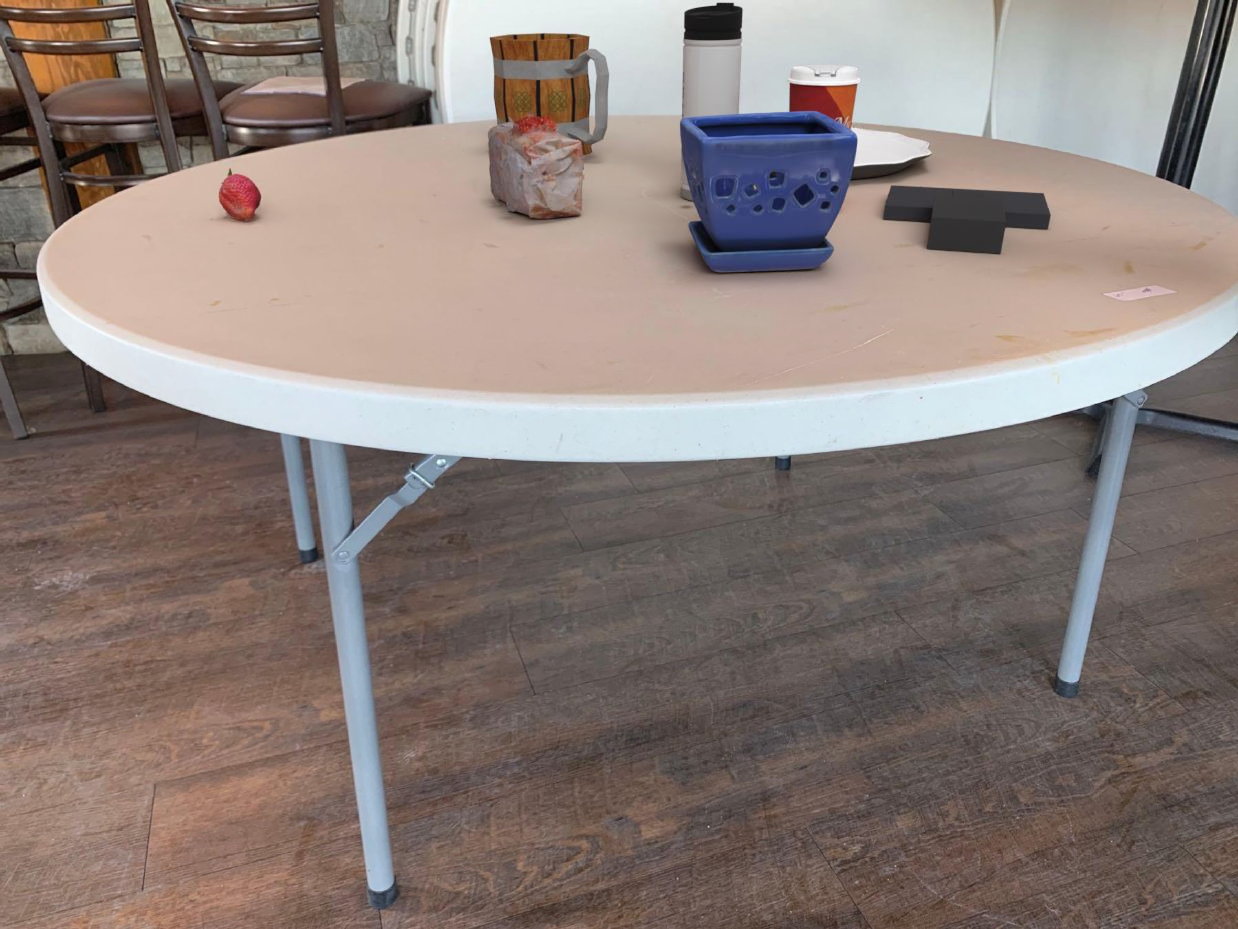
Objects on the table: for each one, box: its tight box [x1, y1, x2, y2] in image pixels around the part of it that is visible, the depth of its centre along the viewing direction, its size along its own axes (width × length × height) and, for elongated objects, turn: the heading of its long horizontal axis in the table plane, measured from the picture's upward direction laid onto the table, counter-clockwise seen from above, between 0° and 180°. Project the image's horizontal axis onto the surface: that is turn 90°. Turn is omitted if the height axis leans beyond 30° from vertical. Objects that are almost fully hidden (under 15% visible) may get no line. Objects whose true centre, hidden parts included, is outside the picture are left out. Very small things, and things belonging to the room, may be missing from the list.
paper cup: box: [786, 64, 862, 129], centre depth 104 cm, size 8×8×14 cm
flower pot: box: [679, 111, 858, 273], centre depth 85 cm, size 13×13×12 cm
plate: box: [770, 127, 933, 180], centre depth 127 cm, size 29×29×2 cm
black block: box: [926, 188, 1006, 255], centre depth 94 cm, size 6×13×3 cm, turn 162°
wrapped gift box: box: [487, 113, 586, 220], centre depth 104 cm, size 14×8×10 cm, turn 28°
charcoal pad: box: [882, 184, 1052, 230], centre depth 102 cm, size 16×10×2 cm, turn 72°
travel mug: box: [680, 2, 744, 202], centre depth 106 cm, size 6×7×20 cm
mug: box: [489, 32, 610, 156], centre depth 131 cm, size 20×14×15 cm
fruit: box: [218, 167, 262, 222], centre depth 103 cm, size 4×6×5 cm
